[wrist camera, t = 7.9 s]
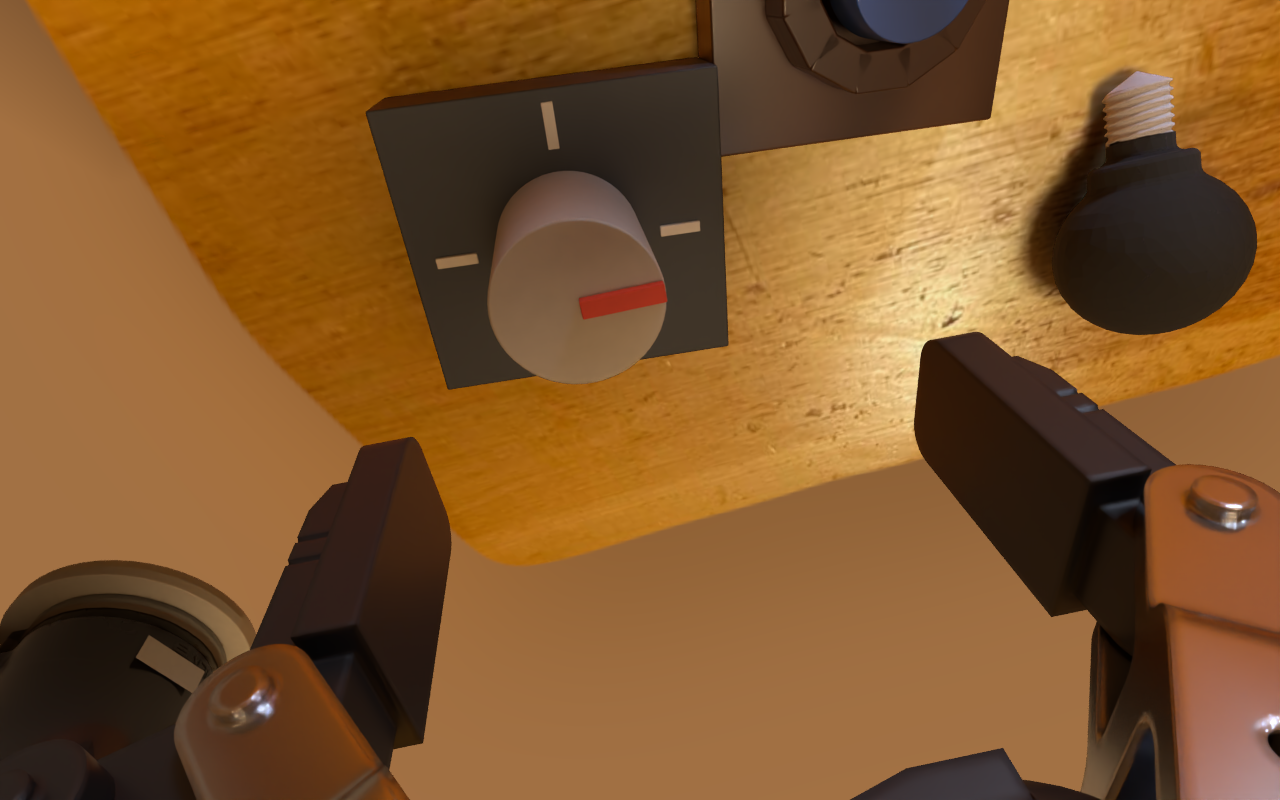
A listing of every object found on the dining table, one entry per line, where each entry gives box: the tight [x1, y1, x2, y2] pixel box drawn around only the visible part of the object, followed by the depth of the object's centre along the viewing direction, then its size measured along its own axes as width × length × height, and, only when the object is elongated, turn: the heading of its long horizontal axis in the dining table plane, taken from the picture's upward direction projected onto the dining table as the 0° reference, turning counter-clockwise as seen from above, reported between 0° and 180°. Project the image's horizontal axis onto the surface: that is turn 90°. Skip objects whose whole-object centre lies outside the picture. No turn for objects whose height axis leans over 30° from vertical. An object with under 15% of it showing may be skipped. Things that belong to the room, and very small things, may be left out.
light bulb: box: [1052, 71, 1257, 335], centre depth 26 cm, size 6×6×10 cm
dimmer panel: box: [366, 57, 728, 389], centre depth 25 cm, size 11×10×3 cm
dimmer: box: [487, 171, 667, 384], centre depth 21 cm, size 5×5×6 cm
